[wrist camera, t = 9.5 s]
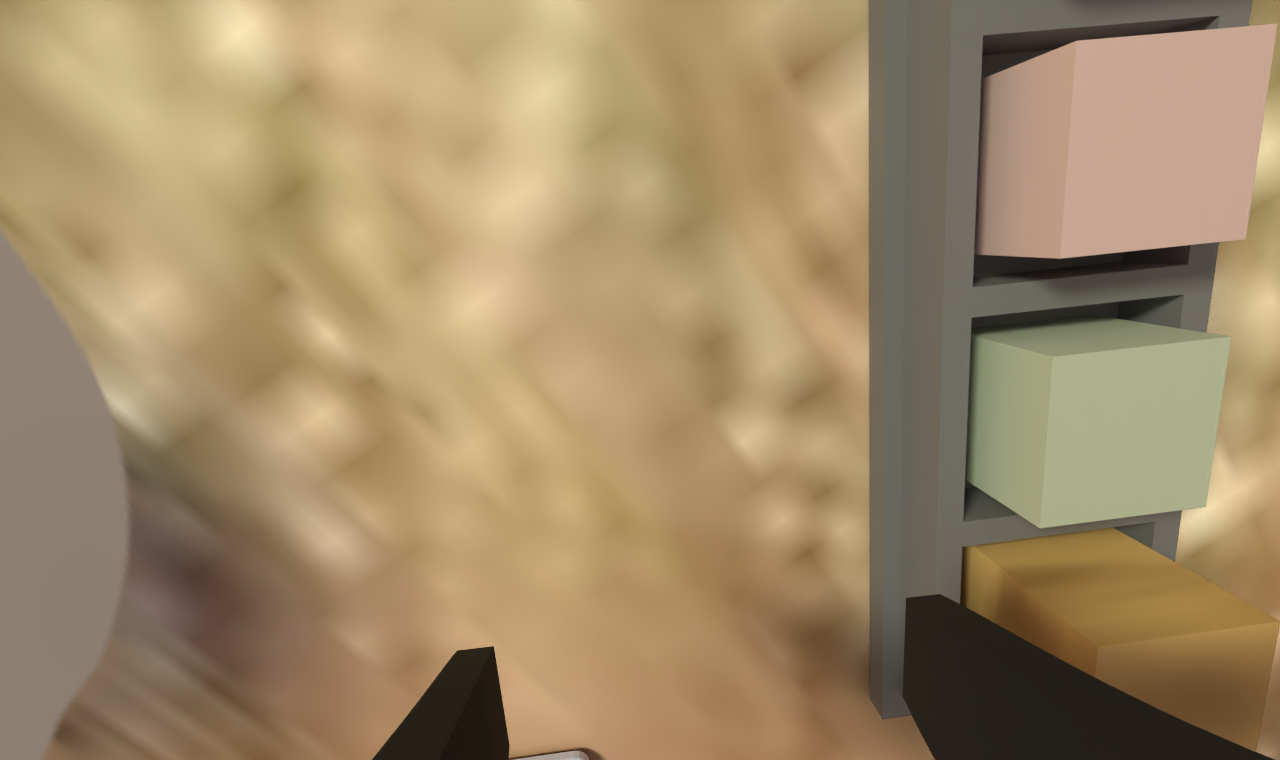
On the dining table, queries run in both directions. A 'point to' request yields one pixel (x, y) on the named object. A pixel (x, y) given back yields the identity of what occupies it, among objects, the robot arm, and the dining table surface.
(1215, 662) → the ochre block
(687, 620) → the dining table surface
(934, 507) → the five-cell board
